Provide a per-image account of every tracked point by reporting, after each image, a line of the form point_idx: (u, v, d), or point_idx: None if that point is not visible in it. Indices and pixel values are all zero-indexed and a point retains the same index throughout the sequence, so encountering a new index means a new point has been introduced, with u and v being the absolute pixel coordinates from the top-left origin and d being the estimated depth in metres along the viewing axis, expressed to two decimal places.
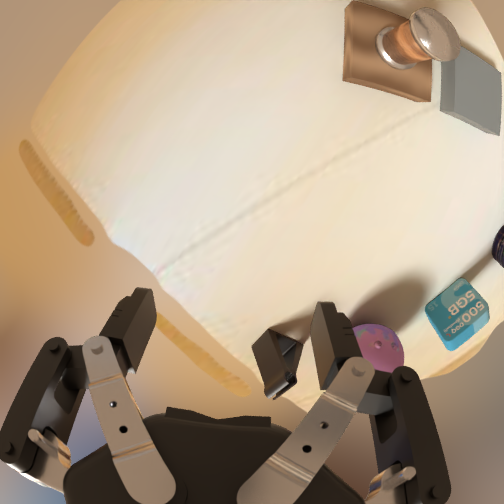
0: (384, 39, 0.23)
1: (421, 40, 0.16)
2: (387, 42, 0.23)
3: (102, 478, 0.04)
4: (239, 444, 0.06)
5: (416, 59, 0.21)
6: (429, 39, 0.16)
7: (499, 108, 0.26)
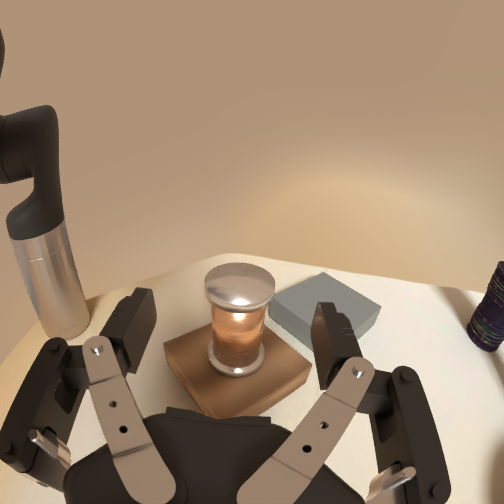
0: (216, 354, 0.28)
1: (231, 302, 0.23)
2: (220, 354, 0.27)
3: (102, 478, 0.04)
4: (239, 444, 0.06)
5: (254, 337, 0.26)
6: (237, 294, 0.24)
7: (355, 293, 0.43)
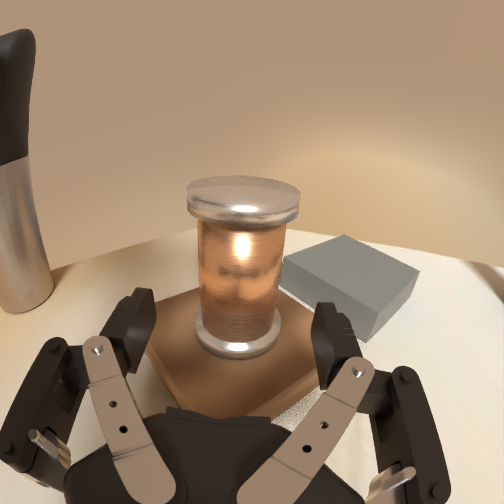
0: (205, 322, 0.18)
1: (229, 204, 0.13)
2: (211, 319, 0.18)
3: (102, 478, 0.04)
4: (239, 444, 0.06)
5: (267, 285, 0.16)
6: (239, 196, 0.14)
7: (386, 256, 0.34)
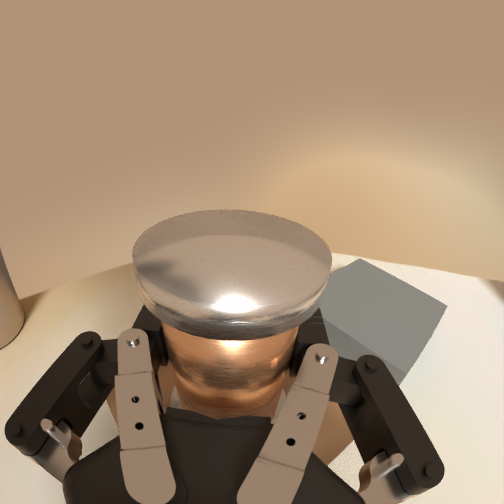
0: None
1: (199, 302, 0.06)
2: None
3: (105, 482, 0.04)
4: (239, 444, 0.06)
5: (271, 389, 0.10)
6: (220, 276, 0.07)
7: (410, 288, 0.27)
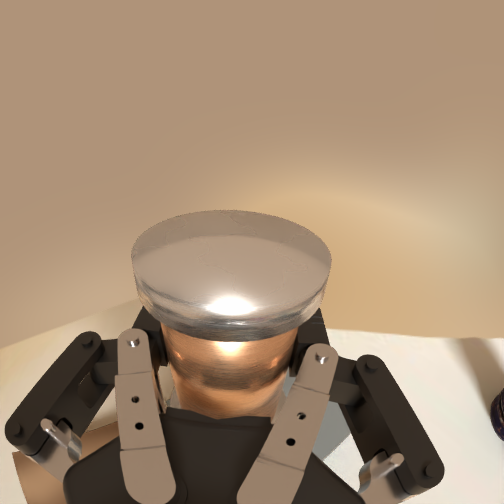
0: None
1: (198, 303, 0.06)
2: None
3: (105, 482, 0.04)
4: (239, 444, 0.06)
5: (270, 390, 0.10)
6: (219, 277, 0.07)
7: None
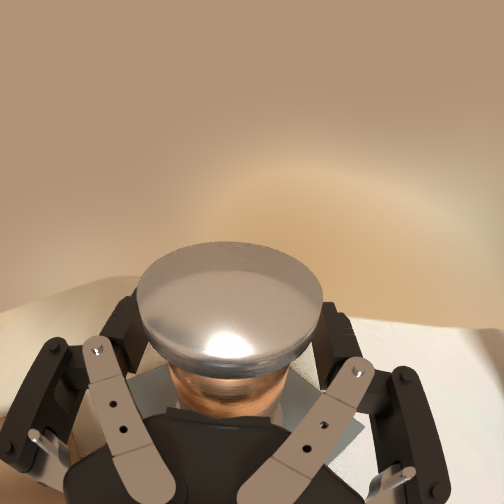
0: None
1: (200, 350, 0.07)
2: None
3: (102, 478, 0.04)
4: (239, 444, 0.06)
5: (266, 409, 0.10)
6: (218, 322, 0.08)
7: (306, 390, 0.17)
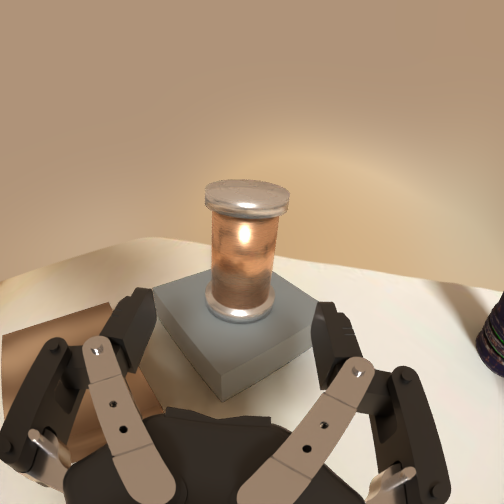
0: (215, 293, 0.24)
1: (238, 202, 0.18)
2: (220, 290, 0.23)
3: (102, 478, 0.04)
4: (239, 444, 0.06)
5: (264, 262, 0.22)
6: (245, 196, 0.19)
7: (290, 288, 0.29)
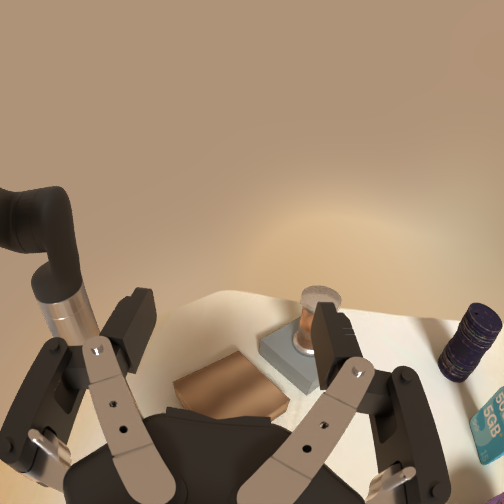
0: (301, 343, 0.45)
1: None
2: (305, 342, 0.44)
3: (102, 478, 0.04)
4: (239, 444, 0.06)
5: None
6: None
7: None
